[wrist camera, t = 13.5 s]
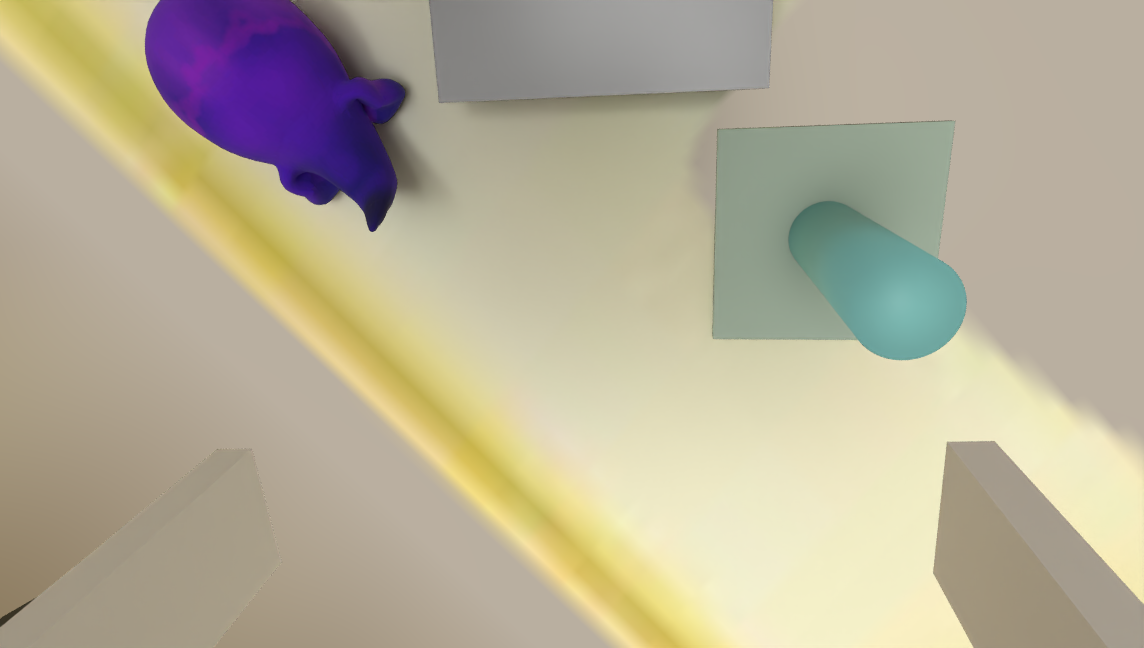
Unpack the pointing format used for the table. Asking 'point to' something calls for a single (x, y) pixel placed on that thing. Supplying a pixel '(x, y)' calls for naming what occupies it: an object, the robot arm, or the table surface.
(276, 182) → the table surface
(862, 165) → the mat
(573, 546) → the table surface
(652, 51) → the socket
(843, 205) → the plug
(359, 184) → the toy
